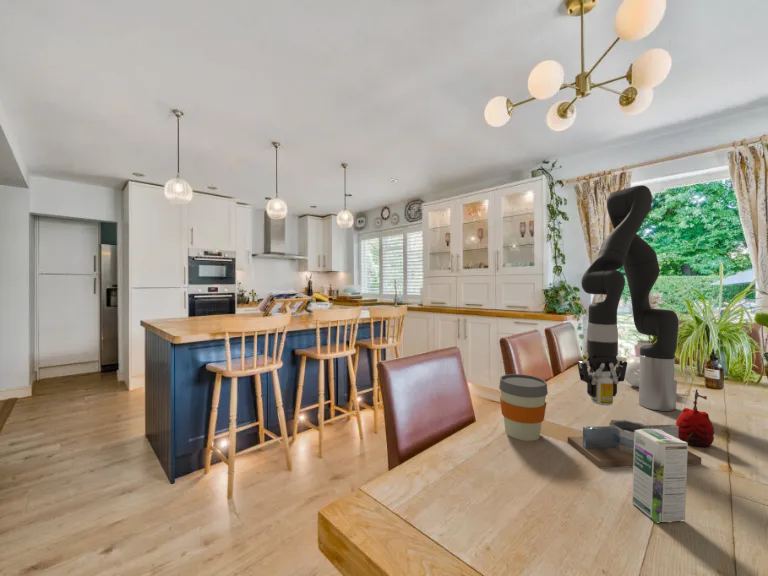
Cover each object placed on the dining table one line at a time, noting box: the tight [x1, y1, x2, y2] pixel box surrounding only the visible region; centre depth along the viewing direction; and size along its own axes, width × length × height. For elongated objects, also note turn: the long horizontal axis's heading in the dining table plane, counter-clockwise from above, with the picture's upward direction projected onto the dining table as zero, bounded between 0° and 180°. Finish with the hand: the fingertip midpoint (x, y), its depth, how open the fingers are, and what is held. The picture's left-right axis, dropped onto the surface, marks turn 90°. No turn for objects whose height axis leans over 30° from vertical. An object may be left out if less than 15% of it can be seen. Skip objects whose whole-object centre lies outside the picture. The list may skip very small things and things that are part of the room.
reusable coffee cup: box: [499, 373, 549, 442], centre depth 95 cm, size 13×12×15 cm
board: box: [567, 435, 702, 468], centre depth 85 cm, size 25×12×2 cm, turn 94°
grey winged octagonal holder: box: [582, 419, 679, 455], centre depth 85 cm, size 24×8×5 cm, turn 94°
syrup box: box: [631, 429, 689, 523], centre depth 63 cm, size 6×6×14 cm
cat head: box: [624, 353, 640, 389], centre depth 136 cm, size 15×13×12 cm
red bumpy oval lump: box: [675, 389, 715, 448], centre depth 90 cm, size 8×7×15 cm
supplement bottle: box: [590, 371, 614, 407], centre depth 100 cm, size 5×5×10 cm
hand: (601, 395), depth 100 cm, fingers closed on supplement bottle, 5 cm apart
